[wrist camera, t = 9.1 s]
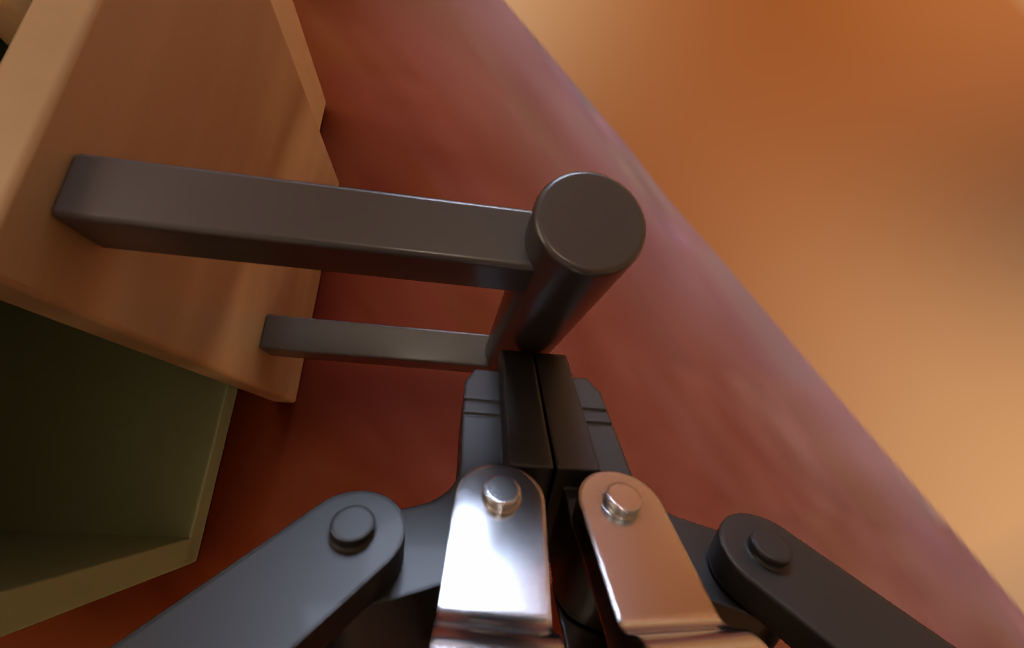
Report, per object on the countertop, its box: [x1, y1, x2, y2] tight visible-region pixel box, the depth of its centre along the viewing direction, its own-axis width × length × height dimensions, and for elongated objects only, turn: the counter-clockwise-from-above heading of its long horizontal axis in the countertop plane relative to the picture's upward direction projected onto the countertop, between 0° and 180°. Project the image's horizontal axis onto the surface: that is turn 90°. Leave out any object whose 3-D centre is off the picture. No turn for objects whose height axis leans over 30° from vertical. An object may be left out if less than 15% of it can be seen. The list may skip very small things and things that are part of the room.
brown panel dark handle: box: [0, 0, 646, 403], centre depth 12 cm, size 9×9×12 cm
